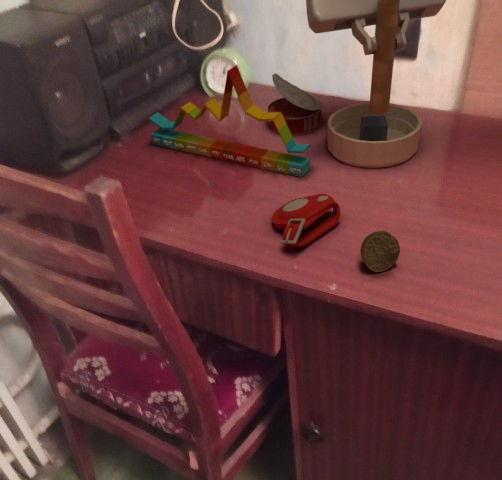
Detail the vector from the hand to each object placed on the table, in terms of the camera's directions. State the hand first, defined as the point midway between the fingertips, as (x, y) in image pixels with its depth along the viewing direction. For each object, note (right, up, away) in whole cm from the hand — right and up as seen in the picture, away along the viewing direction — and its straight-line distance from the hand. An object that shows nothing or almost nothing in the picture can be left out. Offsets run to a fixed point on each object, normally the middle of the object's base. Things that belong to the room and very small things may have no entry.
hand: (386, 50), depth 84 cm
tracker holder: (-13, -26, 0) cm, 29 cm away
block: (+1, -8, +15) cm, 17 cm away
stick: (0, -6, +7) cm, 9 cm away
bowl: (+1, -9, +16) cm, 18 cm away
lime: (-3, -32, -8) cm, 33 cm away
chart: (-24, -10, +17) cm, 31 cm away
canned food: (-11, -2, +25) cm, 27 cm away
